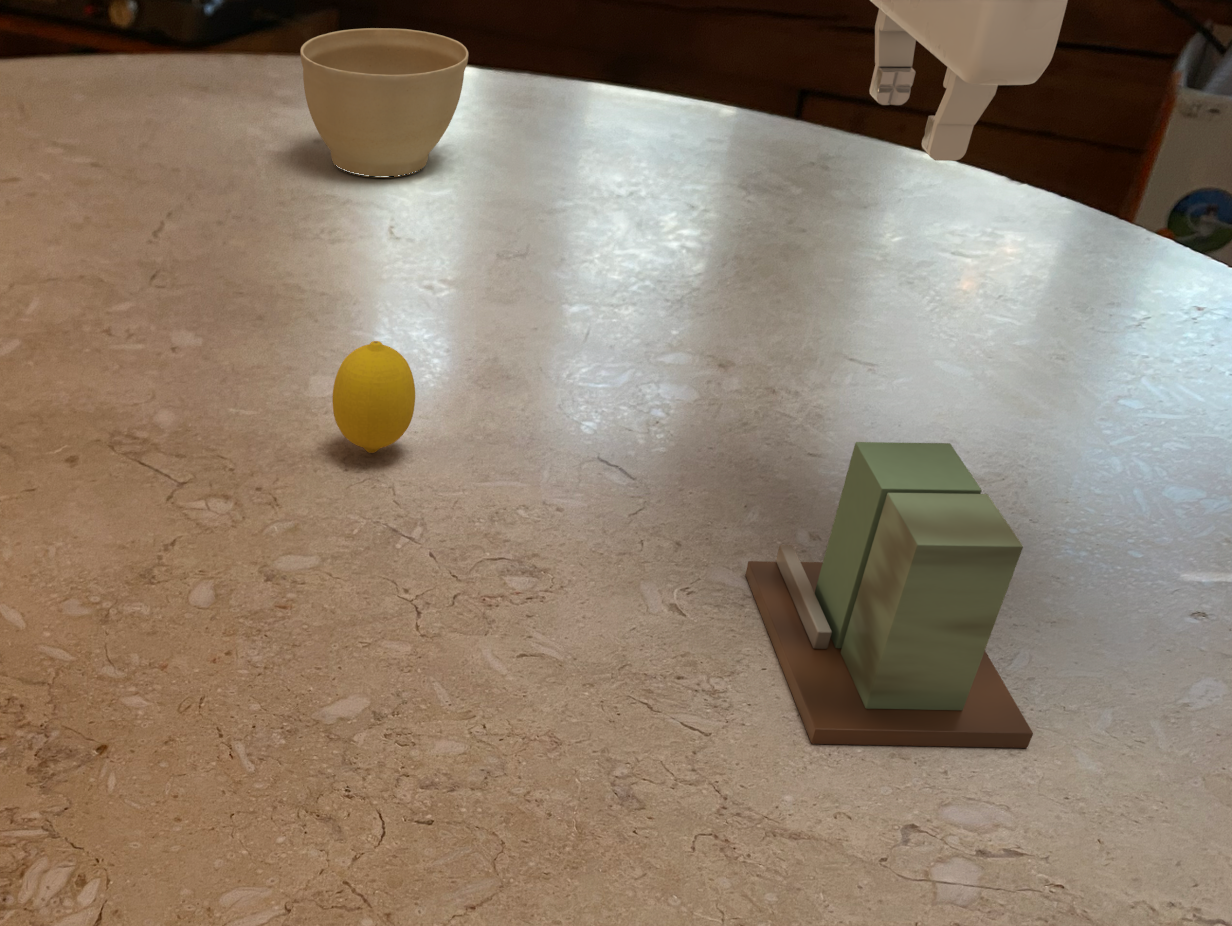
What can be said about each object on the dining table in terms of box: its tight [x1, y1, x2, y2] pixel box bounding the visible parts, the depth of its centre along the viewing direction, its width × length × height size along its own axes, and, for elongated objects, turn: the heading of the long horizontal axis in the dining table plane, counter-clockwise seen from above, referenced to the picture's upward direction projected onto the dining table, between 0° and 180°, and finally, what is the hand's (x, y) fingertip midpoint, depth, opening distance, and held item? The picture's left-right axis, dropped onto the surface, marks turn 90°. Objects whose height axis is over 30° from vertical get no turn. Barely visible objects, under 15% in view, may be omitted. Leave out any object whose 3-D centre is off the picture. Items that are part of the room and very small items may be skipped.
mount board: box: [744, 493, 1034, 749], centre depth 78 cm, size 16×11×11 cm
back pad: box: [815, 441, 982, 648], centre depth 79 cm, size 5×5×10 cm
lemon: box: [332, 340, 416, 454], centre depth 97 cm, size 6×6×8 cm
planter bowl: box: [300, 27, 469, 179], centre depth 143 cm, size 16×16×11 cm
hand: (912, 127), depth 78 cm, fingers open, 8 cm apart
